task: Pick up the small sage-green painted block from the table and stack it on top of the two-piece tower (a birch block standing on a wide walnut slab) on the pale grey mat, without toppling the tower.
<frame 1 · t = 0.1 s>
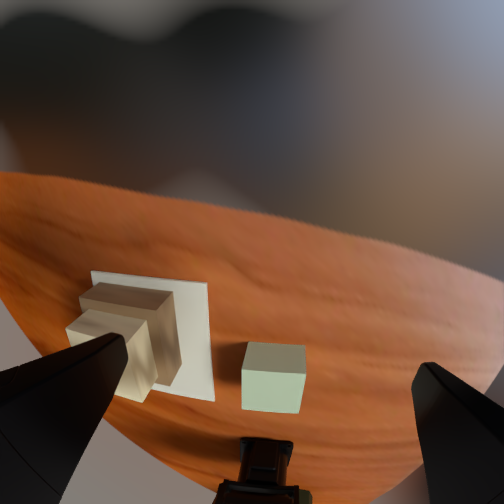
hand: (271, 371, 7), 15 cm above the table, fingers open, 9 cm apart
grey mat: (153, 341, 26), on the table
walnut slab: (139, 324, 25), resting on grey mat, touching birch block
sage block: (275, 363, 25), on the table
wine bottle: (289, 495, 34), on the table
birch block: (122, 344, 22), point 4 cm above the table, touching walnut slab
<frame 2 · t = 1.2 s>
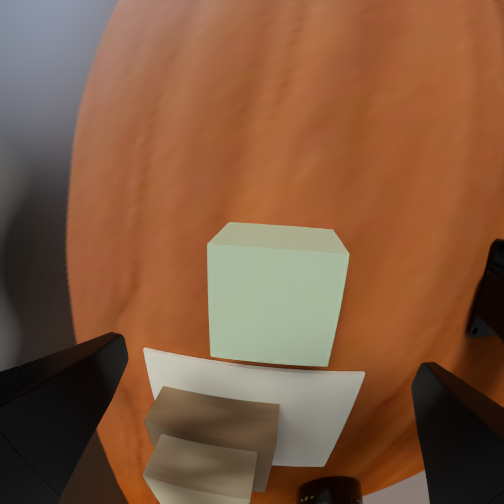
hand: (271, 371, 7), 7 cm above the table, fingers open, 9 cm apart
grey mat: (247, 423, 18), on the table
walnut slab: (220, 429, 18), resting on grey mat, touching birch block
sage block: (277, 273, 14), on the table
birch block: (210, 465, 15), point 4 cm above the table, touching walnut slab
supplement bottle: (328, 485, 21), on the table
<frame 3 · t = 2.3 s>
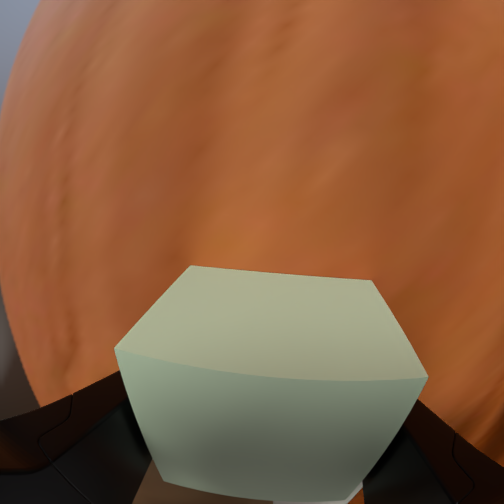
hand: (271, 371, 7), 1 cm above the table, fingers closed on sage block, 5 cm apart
walnut slab: (204, 495, 12), resting on grey mat, touching birch block
sage block: (273, 349, 8), on the table, touching gripper
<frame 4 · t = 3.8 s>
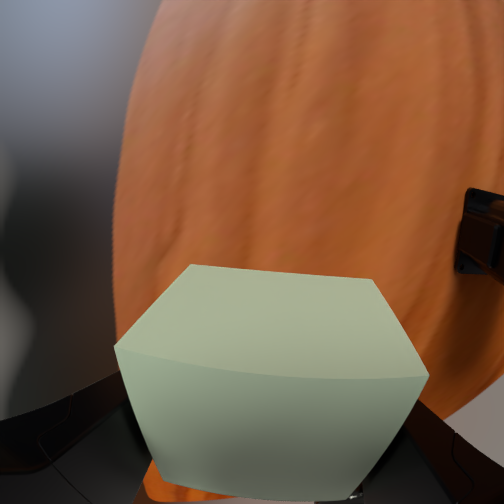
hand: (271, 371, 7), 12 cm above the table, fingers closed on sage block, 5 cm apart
sage block: (274, 348, 8), point 11 cm above the table, touching gripper
supplement bottle: (344, 441, 24), on the table
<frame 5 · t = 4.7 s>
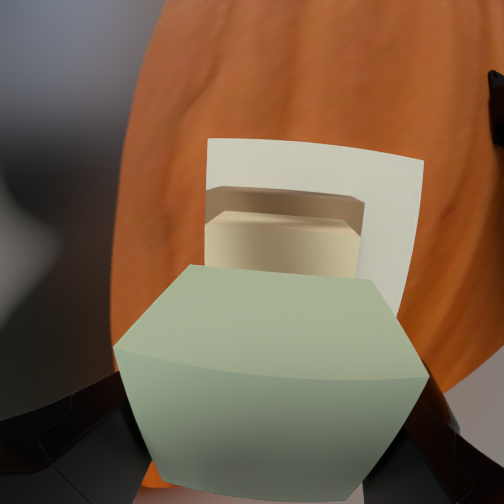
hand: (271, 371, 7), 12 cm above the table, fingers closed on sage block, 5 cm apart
grey mat: (313, 238, 18), on the table
walnut slab: (281, 252, 18), resting on grey mat, touching birch block
sage block: (273, 349, 8), point 11 cm above the table, touching gripper
birch block: (279, 272, 15), point 4 cm above the table, touching walnut slab
supplement bottle: (391, 379, 21), on the table
when the fingers open (9 cm above the table, at t = 5.5 s): sage block drops 1 cm, resting on birch block.
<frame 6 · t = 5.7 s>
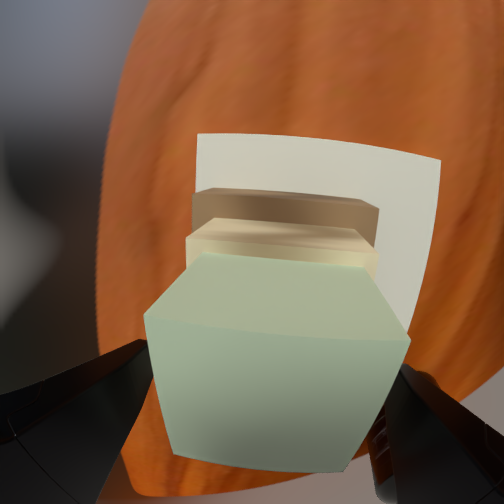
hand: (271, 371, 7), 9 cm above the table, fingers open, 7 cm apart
grey mat: (318, 247, 16), on the table
walnut slab: (281, 263, 16), resting on grey mat, touching birch block
sage block: (276, 330, 9), point 7 cm above the table, touching birch block
birch block: (279, 289, 13), point 4 cm above the table, touching sage block, walnut slab
supplement bottle: (398, 396, 18), on the table
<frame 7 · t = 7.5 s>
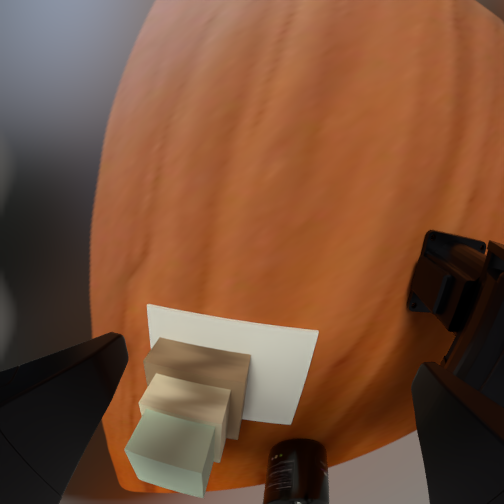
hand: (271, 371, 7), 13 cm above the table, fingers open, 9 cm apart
grey mat: (225, 374, 23), on the table
walnut slab: (203, 379, 24), resting on grey mat, touching birch block
sage block: (181, 436, 17), point 7 cm above the table, touching birch block
birch block: (193, 406, 20), point 4 cm above the table, touching sage block, walnut slab
supplement bottle: (297, 450, 27), on the table
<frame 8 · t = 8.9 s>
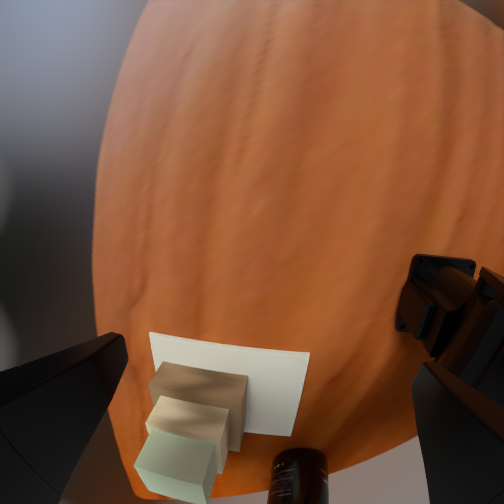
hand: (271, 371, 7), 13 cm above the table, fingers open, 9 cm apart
grey mat: (226, 392, 24), on the table
walnut slab: (205, 397, 25), resting on grey mat, touching birch block
sage block: (186, 452, 18), point 7 cm above the table, touching birch block
birch block: (196, 423, 21), point 4 cm above the table, touching sage block, walnut slab
supplement bottle: (299, 458, 27), on the table
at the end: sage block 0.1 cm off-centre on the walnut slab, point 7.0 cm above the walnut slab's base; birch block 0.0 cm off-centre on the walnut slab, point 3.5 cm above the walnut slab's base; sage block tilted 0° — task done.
